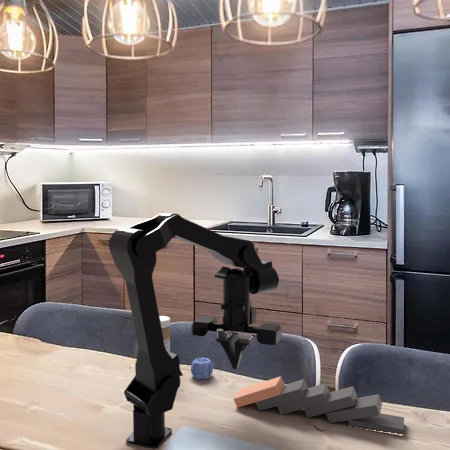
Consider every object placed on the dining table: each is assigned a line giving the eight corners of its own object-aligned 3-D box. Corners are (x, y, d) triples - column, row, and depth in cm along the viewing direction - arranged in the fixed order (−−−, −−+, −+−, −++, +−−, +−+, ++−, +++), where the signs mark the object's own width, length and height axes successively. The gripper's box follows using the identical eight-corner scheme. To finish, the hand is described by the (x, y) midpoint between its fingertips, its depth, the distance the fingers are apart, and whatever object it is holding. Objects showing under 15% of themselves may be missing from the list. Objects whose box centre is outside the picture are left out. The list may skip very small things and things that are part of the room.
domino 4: (311, 407, 101) (357, 395, 98) (307, 417, 96) (354, 405, 93) (308, 398, 101) (353, 386, 98) (303, 408, 97) (350, 395, 93)
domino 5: (334, 411, 99) (382, 403, 95) (329, 423, 95) (379, 415, 91) (331, 402, 99) (378, 394, 95) (326, 413, 95) (375, 405, 91)
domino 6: (351, 417, 98) (403, 427, 94) (348, 429, 94) (403, 439, 90) (352, 408, 98) (404, 417, 94) (348, 419, 93) (403, 429, 90)
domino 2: (265, 400, 104) (307, 387, 101) (259, 411, 99) (303, 398, 96) (262, 391, 104) (303, 379, 101) (255, 402, 99) (299, 388, 96)
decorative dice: (204, 381, 114) (204, 364, 114) (190, 377, 116) (190, 361, 116) (213, 375, 118) (213, 359, 117) (199, 371, 120) (199, 356, 119)
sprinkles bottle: (152, 366, 122) (152, 315, 121) (170, 366, 123) (170, 315, 122) (151, 374, 118) (151, 320, 117) (170, 373, 118) (170, 320, 117)
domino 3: (285, 404, 103) (329, 392, 99) (280, 414, 98) (326, 402, 95) (282, 395, 103) (325, 383, 99) (277, 405, 98) (322, 393, 95)
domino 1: (244, 397, 106) (284, 385, 102) (237, 407, 101) (279, 394, 97) (240, 389, 106) (281, 376, 102) (233, 398, 101) (275, 385, 98)
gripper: (287, 293, 106) (286, 361, 107) (209, 286, 112) (209, 350, 114) (275, 305, 95) (274, 380, 97) (190, 296, 102) (190, 368, 103)
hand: (235, 368), depth 103 cm, fingers closed
